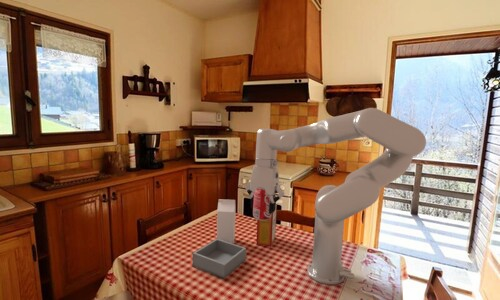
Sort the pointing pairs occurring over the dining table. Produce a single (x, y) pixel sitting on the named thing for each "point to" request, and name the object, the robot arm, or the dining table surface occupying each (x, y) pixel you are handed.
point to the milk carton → (226, 220)
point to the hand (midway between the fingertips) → (262, 209)
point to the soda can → (261, 205)
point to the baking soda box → (266, 230)
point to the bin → (219, 258)
